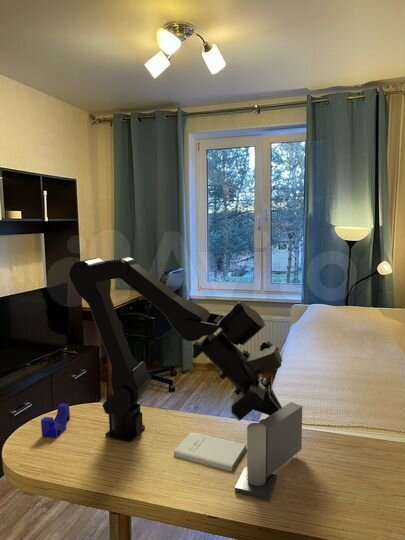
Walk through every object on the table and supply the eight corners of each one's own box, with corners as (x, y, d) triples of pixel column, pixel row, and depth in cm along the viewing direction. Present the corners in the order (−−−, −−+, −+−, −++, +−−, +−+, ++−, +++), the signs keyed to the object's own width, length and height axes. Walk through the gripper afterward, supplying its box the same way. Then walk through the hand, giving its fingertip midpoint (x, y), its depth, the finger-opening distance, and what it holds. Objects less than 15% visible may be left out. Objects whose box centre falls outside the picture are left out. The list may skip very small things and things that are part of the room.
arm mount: (234, 492, 70) (234, 487, 70) (244, 472, 76) (244, 467, 76) (269, 501, 68) (269, 496, 68) (277, 479, 73) (277, 474, 73)
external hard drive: (231, 474, 76) (173, 458, 81) (246, 451, 83) (192, 437, 89) (231, 466, 76) (173, 450, 81) (246, 443, 83) (192, 430, 88)
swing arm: (243, 480, 72) (243, 427, 70) (288, 445, 82) (289, 399, 81) (258, 488, 69) (258, 434, 68) (303, 451, 80) (303, 404, 78)
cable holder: (56, 439, 88) (55, 421, 88) (42, 437, 89) (40, 420, 89) (75, 420, 96) (74, 404, 95) (62, 419, 97) (61, 403, 96)
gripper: (249, 348, 70) (314, 417, 69) (263, 320, 88) (315, 374, 86) (205, 387, 73) (267, 453, 72) (227, 353, 91) (277, 405, 90)
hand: (284, 417), depth 80 cm, fingers closed
